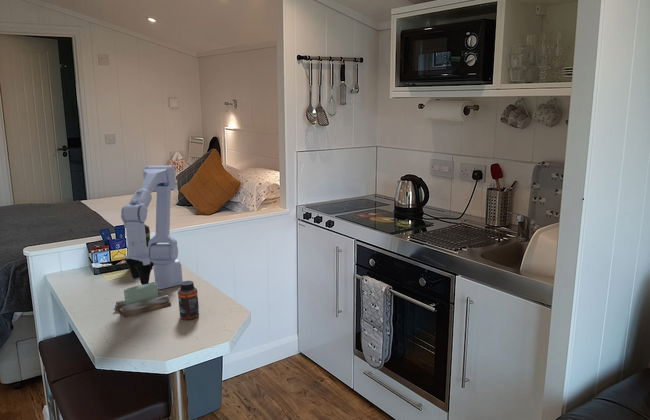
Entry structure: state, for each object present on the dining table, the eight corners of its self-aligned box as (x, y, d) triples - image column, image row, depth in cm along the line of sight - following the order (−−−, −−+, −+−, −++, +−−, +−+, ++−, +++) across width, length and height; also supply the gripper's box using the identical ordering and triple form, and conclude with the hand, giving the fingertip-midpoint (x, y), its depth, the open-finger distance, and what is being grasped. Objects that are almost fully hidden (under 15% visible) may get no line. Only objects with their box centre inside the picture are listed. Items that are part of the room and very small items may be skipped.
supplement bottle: (203, 314, 167) (200, 280, 165) (192, 321, 162) (190, 286, 159) (186, 311, 169) (184, 278, 167) (176, 319, 164) (173, 284, 161)
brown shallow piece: (159, 296, 182) (158, 289, 182) (171, 305, 175) (170, 297, 174) (115, 308, 173) (114, 300, 173) (125, 317, 166) (124, 309, 165)
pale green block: (155, 298, 178) (153, 282, 177) (158, 301, 176) (157, 284, 174) (125, 306, 172) (123, 289, 170) (128, 309, 169) (126, 291, 168)
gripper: (116, 238, 172) (120, 278, 175) (132, 248, 161) (136, 289, 164) (137, 235, 177) (141, 273, 180) (154, 243, 166) (158, 284, 169)
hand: (140, 280), depth 172 cm, fingers open, 7 cm apart
